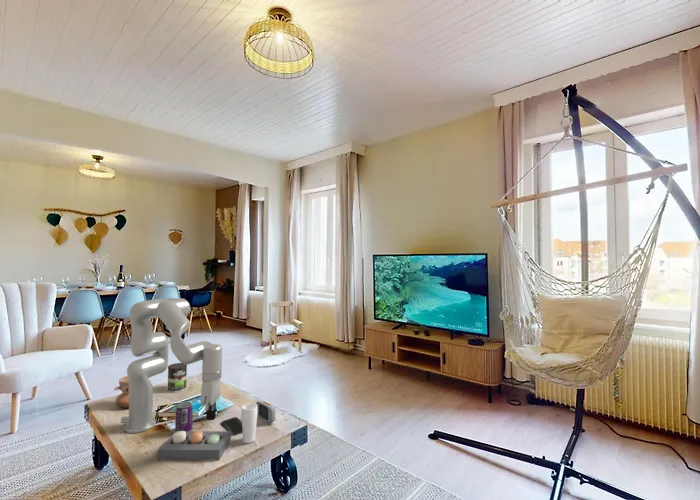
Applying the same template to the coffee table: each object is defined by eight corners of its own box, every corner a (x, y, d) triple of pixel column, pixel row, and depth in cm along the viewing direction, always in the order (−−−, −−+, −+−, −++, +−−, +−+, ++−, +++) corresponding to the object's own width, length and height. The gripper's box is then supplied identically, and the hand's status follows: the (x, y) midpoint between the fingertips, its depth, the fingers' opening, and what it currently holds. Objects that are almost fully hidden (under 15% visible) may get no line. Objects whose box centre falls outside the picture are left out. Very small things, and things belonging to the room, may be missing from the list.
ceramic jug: (118, 414, 172) (119, 385, 172) (108, 405, 181) (109, 378, 181) (156, 402, 186) (157, 376, 187) (144, 395, 195) (146, 370, 196)
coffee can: (188, 389, 204) (189, 365, 204) (170, 394, 197) (170, 369, 197) (183, 384, 211) (184, 361, 212) (165, 388, 205) (165, 365, 205)
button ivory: (170, 446, 140) (170, 436, 140) (176, 439, 144) (176, 430, 144) (182, 446, 140) (182, 437, 140) (187, 439, 144) (188, 430, 144)
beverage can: (195, 428, 159) (196, 402, 159) (184, 436, 152) (185, 409, 153) (183, 426, 161) (183, 400, 161) (171, 433, 154) (172, 407, 154)
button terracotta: (187, 446, 140) (188, 437, 140) (193, 439, 144) (193, 430, 145) (199, 446, 140) (199, 437, 140) (204, 439, 145) (204, 430, 145)
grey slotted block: (158, 459, 135) (158, 449, 135) (175, 440, 149) (175, 431, 149) (219, 459, 135) (219, 449, 135) (230, 440, 149) (230, 431, 149)
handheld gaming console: (254, 415, 172) (254, 400, 172) (259, 413, 175) (259, 398, 175) (271, 425, 163) (272, 408, 163) (276, 423, 165) (277, 406, 165)
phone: (236, 416, 170) (249, 428, 158) (236, 419, 170) (249, 430, 158) (220, 421, 164) (233, 434, 153) (220, 424, 164) (233, 436, 153)
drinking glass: (238, 440, 150) (238, 406, 150) (252, 434, 154) (252, 401, 155) (245, 446, 145) (246, 411, 145) (259, 440, 150) (260, 406, 150)
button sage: (205, 449, 140) (205, 440, 140) (209, 442, 145) (209, 434, 145) (216, 449, 140) (217, 440, 140) (221, 442, 145) (221, 434, 145)
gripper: (209, 368, 150) (208, 410, 150) (195, 381, 135) (194, 428, 135) (226, 368, 150) (226, 410, 150) (214, 381, 135) (213, 428, 135)
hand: (211, 418), depth 142 cm, fingers closed
